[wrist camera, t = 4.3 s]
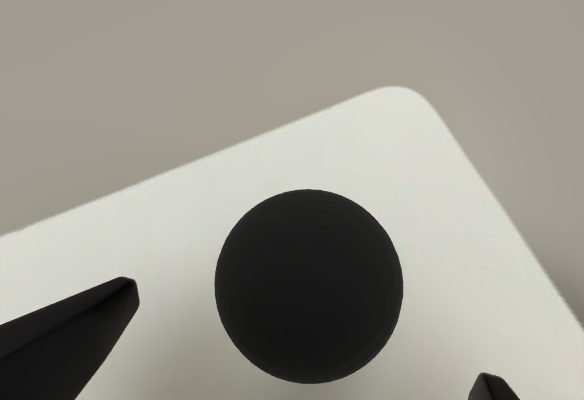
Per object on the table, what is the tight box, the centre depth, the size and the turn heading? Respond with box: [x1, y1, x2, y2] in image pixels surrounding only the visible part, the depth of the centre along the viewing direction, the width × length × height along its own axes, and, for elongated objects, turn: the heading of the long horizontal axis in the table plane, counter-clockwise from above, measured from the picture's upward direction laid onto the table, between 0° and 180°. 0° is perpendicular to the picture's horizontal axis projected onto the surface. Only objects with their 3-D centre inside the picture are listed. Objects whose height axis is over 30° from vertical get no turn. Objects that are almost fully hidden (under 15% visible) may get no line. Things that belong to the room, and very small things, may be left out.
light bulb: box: [215, 189, 403, 384], centre depth 13 cm, size 6×6×10 cm
